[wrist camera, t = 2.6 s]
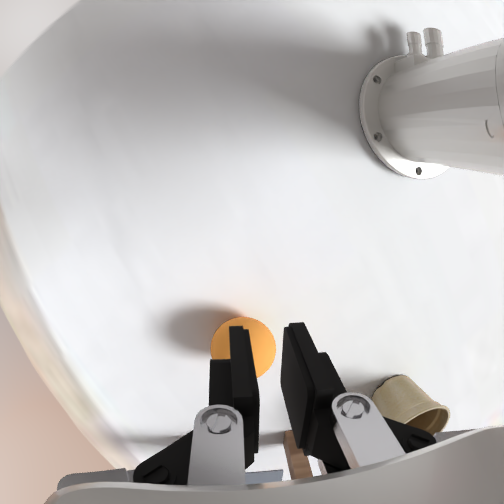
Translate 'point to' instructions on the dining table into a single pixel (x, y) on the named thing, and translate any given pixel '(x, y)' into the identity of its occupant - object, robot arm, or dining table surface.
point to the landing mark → (263, 477)
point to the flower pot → (410, 405)
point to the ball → (259, 339)
